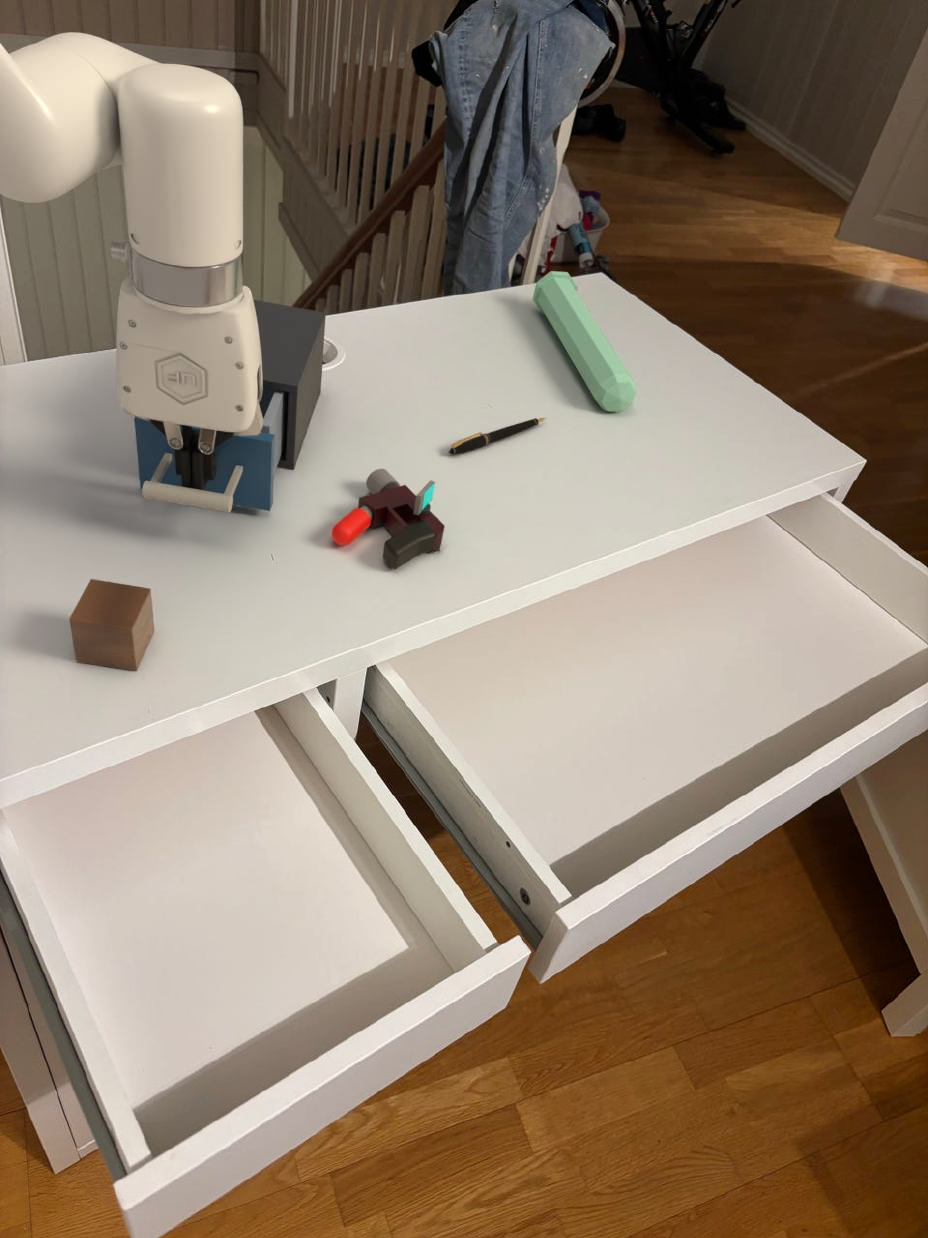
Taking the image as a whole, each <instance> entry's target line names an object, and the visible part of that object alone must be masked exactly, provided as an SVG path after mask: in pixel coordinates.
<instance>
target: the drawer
mask: <svg viewBox="0 0 928 1238" xmlns="http://www.w3.org/2000/svg"><path fill="white" fill-rule="evenodd" d="M288 398H289V392H286V391H280V390H274V389H269V388H263V387H262V397H261V401H260V402H259V405H260V409H261V413H262V417H263V420H264V425H263V427H262V430H261V432H260V434H259V435H252V436H238V435H233V436H232V437H231V438H229V439H228V440H226V441H225V442H223V443H222V444H220V445H219V446H217V473H216V476H215V479H214V481H211V480H208V482H207V485H206V487H205V489H204V490H198V489H192V488H186V487H182V476H181V475H176V468H175V452H174V449H173V448H172V447H170V445H169V444H168V440H167V437H166V436H165V435H164V434H163V433H162V432H161V431H159V430H158V429H157V428H156V427H155V426H154V425H153V424H152V423H151V421H149V420H147V421H146V420H144V419H141V418H138V417H136V416H134V418H133V421H134V430H135V431H134V432H135V433H134V434H135V442H136V453H137V455H136V456H137V465H138V475H139V477H138V478H139V489H140V490H141V496H142V498H143V499H149V500H154V501H161V502H167V503H172V504H178V505H183V506H184V505H185V506H190V507H195V508H202V509H207V510H212V511H213V510H214V511H219V512H225V513H231V511H232V508H233V506H237V507H243V508H249V509H255V510H261V511H265V512H266V511H267V512H270V511H271V508H272V507H273V503H274V475H275V474H276V470H277V468H278V467H277V465H278V463H279V460H280V457H281V454H282V452H283V449H284V446H285V444H286V441H287V422H288ZM238 409H239V408H238ZM192 429H193V430H194V431H197V435H199V436H200V429H201V428H199V427H193V426H192Z"/></svg>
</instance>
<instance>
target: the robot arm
mask: <svg viewBox="0 0 928 1238" xmlns="http://www.w3.org/2000/svg"><path fill="white" fill-rule="evenodd" d="M243 112H244V111H243V105H242V99H241V96H240V94H239V93H238V92H237V90H236V88H235V86H234V85H233V84H232V83H231V82H230V81H229V80H228V79H226V78H225V77H224V76H222V75H219V74H217V73H215V72H212V71H210V70H208V69H204V68H201V67H197V66H192V65H186V64H179V63H163V62H162V63H161V62H159V61H156V60H153V59H151V58H148V57H146V56H144V55H142V54H139V53H136V52H134V51H132V50H130V49H127V48H125V47H123V46H121V45H118V44H116V43H114V42H112V41H110V40H107V39H105V38H102V37H100V36H96V35H93V34H90V33H84V32H77V31H76V32H74V31H73V32H72V31H71V32H70V31H69V32H61V33H58V34H54V35H51V36H49V37H47V38H45V39H42V40H40V41H37V42H36V43H32V44H28V45H26V46H24V47H21V48H19V49H16V50H14V51H12V52H10V53H9V52H8V51H7V50H6V49H5V47H4V46H3V44H2V43H1V42H0V195H2V196H4V197H6V198H8V199H10V200H14V201H18V202H21V203H26V204H27V203H31V204H39V203H40V204H41V203H46V202H49V201H53V200H56V199H58V198H60V197H62V196H64V195H65V194H67V193H69V192H70V191H72V190H73V189H75V188H76V187H78V186H79V185H81V184H82V183H83V182H85V181H87V180H88V179H89V178H90V177H92V176H93V175H95V174H96V173H98V172H100V171H104V170H106V169H110V168H114V167H117V166H121V167H122V171H123V183H124V195H125V206H126V207H125V209H126V217H127V218H126V219H127V230H128V239H122V240H118V239H111V241H110V244H109V256H110V259H111V261H117V262H121V264H124V265H126V267H127V270H128V276H127V277H126V278H125V279H124V280H123V281H122V282H121V284H120V289H119V296H118V302H117V304H118V305H117V315H116V342H115V343H116V347H115V349H116V350H115V351H116V353H115V355H116V357H115V358H116V359H115V360H116V361H115V363H116V365H115V366H116V389H117V396H118V401H119V404H120V406H121V407H122V409H123V411H124V412H125V413H126V414H128V415H130V416H133V417H135V416H136V417H138V418H141V419H144V420H146V421H147V420H149V421H151V423H152V424H153V425H154V426H155V427H156V428H157V429H158V430H159V431H161V432H162V433H163V434H164V435H165V436H166V437H167V440H168V444H169V445H170V447H172V448H173V449H174V452H175V468H176V475H181V476H182V487H186V488H192V489H198V490H204V489H205V487H206V485H207V482H208V480H211V481H214V479H215V476H216V473H217V446H219V445H220V444H222V443H223V442H225V441H226V440H228V439H229V438H231V437H232V436H233V435H238V436H252V435H259V434H260V432H261V430H262V427H263V425H264V420H263V417H262V413H261V409H260V405H259V402H260V401H261V397H262V386H263V378H262V358H261V346H260V337H259V329H258V322H257V316H256V310H255V306H254V301H253V300H254V297H253V293H252V291H251V289H250V288H249V287H248V286H247V285H244V114H243ZM238 408H239V409H238ZM192 426H193V427H199V428H201V429H200V436H199V435H197V431H194V430H193V429H192Z"/></svg>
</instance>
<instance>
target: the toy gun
mask: <svg viewBox="0 0 928 1238" xmlns="http://www.w3.org/2000/svg"><path fill="white" fill-rule="evenodd" d="M365 485H366V488H367V490H368V491H369V492H370V494H367V495H363V496H361V497H358V503H357V504H358V505H357V507H355V508H353V509H352V510H351V511H349V513H347V514H346V515H345V516H344V517H343V518H341V519H340V520H339V521H338V522H337V523H335V525H333V526H332V529H331V532H330V533H331V538H332V540H333V542H334V543H336V544H337V545H339V546H342V547H343V546H348V545H350V544H352V543H353V542H354V541H355V540H356V539H357V538H359V537H360V535H362V534H363V533H364V532H366V530H367V529H369V527H372V528H373V529H374V528H377V527H381V526H384V527H385V529H386V530H387V531H388V532H389V533H390V534H391V535H392V536H391V537H390V538H388V539H387V540H385V542H384V544H383V549H382V550H383V551H382V558H383V560H384V561H385V562H386V564H388V566H389V567H390V568H391V569H393V570H397V569H398V568H400V567H401V566H403V565H405V564H406V563H408V562H409V561H411V560H412V559H415V558H416V557H417V556H420V555H423V554H426V553H429V552H432V553H436V552H439V551H440V549H441V547H442V542H443V537H444V532H445V524H444V523H442V521H441V520H440V519H438V517H437V516H436V515H435V514H434V513H433V512H432V511H431V507H432V506H431V504H430V503H431V502H432V500H433V496H434V490H435V486H436V481H434V480H432V479H430V480H429V481H428V482H427V483H426V484H425V485H424V486H423V487H422V489H421V490H420V491H419V492H418V493H417V494H415V493H414V492H413V491H412V490H411V489H410V488H409V487H408V486H407V485H406V484H403V485H400V483H399V482H398V480H396V478H395V477H394V476H393V475H392V474H390V472H388V470H387V469H385V468H377V469H375V470H373V471H372V472H371V473H370V474H369V475H368V476H367V479H366V482H365Z"/></svg>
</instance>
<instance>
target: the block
mask: <svg viewBox="0 0 928 1238" xmlns="http://www.w3.org/2000/svg"><path fill="white" fill-rule="evenodd" d="M68 622H69V627H70V633H71V638H72V645H73V650H74V656H75V661H76V663H83V664H89V665H94V666H102V667H108V668H114V669H120V670H127V671H132V672H133V671H134V672H137V670H138V668H139V666H140V665H141V662H142V659H143V657H144V655H145V653H146V650H147V648H148V646H149V643H150V641H151V639H152V637H153V635H154V632H155V624H154V611H153V600H152V589H151V588H149V587H143V586H137V585H131V584H124V583H119V582H113V581H106V580H100V579H94V578H91V579H90V580H89V582H88V584H87V585H86V587H85V589H84V591H83V593H82V595H81V596H80V598H79V600H78V602H77V603H76V605H75V608H74V609H73V611H72V612H71V615H70V617H69V619H68Z"/></svg>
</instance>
